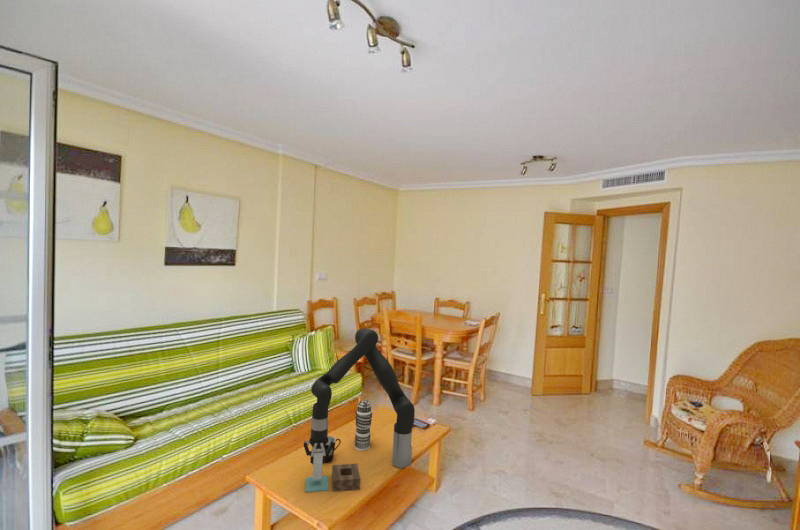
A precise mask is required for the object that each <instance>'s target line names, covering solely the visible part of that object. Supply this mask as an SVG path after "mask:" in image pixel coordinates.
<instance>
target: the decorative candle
mask: <svg viewBox="0 0 800 530" xmlns="http://www.w3.org/2000/svg"><path fill="white" fill-rule="evenodd" d="M372 406H373V404H372V403H371V402H370V401H369V400H365V399H364V400H363V399H362V400H359V402H357V404H356V408H357V409H356V411H355V433H354V449H355V450H358V451H359V452H364V451H367V450H369V449H370V447H371V435H372V434H371V428H372V427H371V426H372V420H373V419H372V418H373V416H372V415H373V412H372Z"/></svg>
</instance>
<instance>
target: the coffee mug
mask: <svg viewBox="0 0 800 530" xmlns="http://www.w3.org/2000/svg"><path fill="white" fill-rule="evenodd" d="M327 437H328V439H329V440H332V439H333V440H334V444H333V446H332V449H331V451H330V454H327V455H326V458H325V462H324V464H328V463H331V462H332V461H333V458H334V453H335V451H336V450H337V449H338V448H339V446H340V444H341V443H342V442H341V439H340V438H336V437H334V436H332V435H328V436H327ZM337 441H338V442H339V443H338V445H336V442H337ZM328 446H329V444H328V443H327V444H326V445H325V451H326V450H327V449H328Z"/></svg>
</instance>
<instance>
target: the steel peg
mask: <svg viewBox="0 0 800 530" xmlns="http://www.w3.org/2000/svg"><path fill="white" fill-rule="evenodd" d="M322 461H323V452H322V449H315V452H314V459H313V464H312V477H313V479H322V476H323V464H322Z"/></svg>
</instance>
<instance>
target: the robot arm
mask: <svg viewBox="0 0 800 530" xmlns="http://www.w3.org/2000/svg"><path fill="white" fill-rule="evenodd" d="M354 340H355V343H356V344H355V345H354V347H353V348H352V349H351V350H350V351H348V352H347V353H346V354H345V355H343V356H342V357H341V358H339V359H338V360H337V361H336V362H335V363H334V364H333V365H332V366H331V367H330V369H329V370H328V371H327V372H325V373H324V374H322V375H321V376H320V377H319V378H317V379H316V380H315V381H314V382H313V383H312V385H311V388H310V392H311V393H312V395H313V396H314V397H315V398H316V402H315V403H314V404H313V406H312V411H311V412H312V414H311V423H310V437H309V440H304V441H303V448H304V451H305V454H306V456H307V457H308V456H310V463H311V465H313V459H314V452H315V449H322V452H323V461H322V465H323V464H325V463H324V462H325V458H326V455H327V454H330V451H331V449H332V446H333V444H334V440H333V439H332V440H329V439H328V437H327V436H329V435H328V432H329V431H328V430H329V406H330V403H331V401H332V395H333V393H332V391H333V390H332V387H330V386H331V385H332V384H338V383H339V382H340V381H342V380H343V378H344V377H345V375H347V373H348V372H349V371H351V369H352V367H354V366H355V364H356V363H357V362H359V360H361V359H362V357H365V358H366V360H367V362H368V364H369V366H370V368H371V370H372V372H373V374H374V375H375V378H376V379H377V381H378V383H379V384H380V386H381V387H382V388H383V390H384V391H385V392H386V394H387V395H388V397H389V400H390V402H391V404H392V407H393V410H394V412H395V413H396V422H395V423H394V426H393V440H392V441H393V442H392V457H391V461H392V462H391V463H392V466H394V468H395V467H396V468H398V469H406V468H409V467H410V466H412V455H413V446H412V436H413V434H412V433H413V428H414V423H415V405H414V404H413V403H412V401H411V400H410V399H409V398H408V397H407V395H406V394H405V393H404V390H403V389H402V388H401V386H400V383H399V380H398V376H397V374H396V372H395V370H394V369H393V366H392V365H391V363H390V362H389V360H388V359H387V358H386V357H385V355H383V354H382V353H381V351H380V350H379V348H378V347H377V343H378V341H379V335H378V333H377V331H375V330H374V329H370V328H360V329H358V330H357V331H356V332H355V334H354ZM327 443H328V444H329V446H328V449H327V450H326V451H325V445H326V444H327ZM309 445H311V450H310V448H309Z"/></svg>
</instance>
